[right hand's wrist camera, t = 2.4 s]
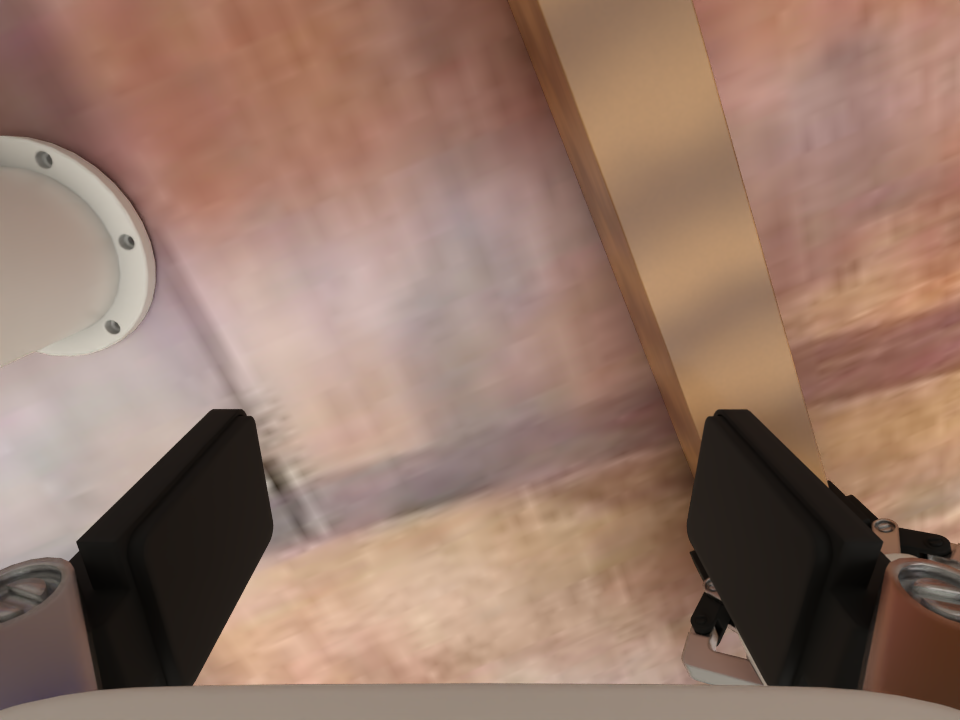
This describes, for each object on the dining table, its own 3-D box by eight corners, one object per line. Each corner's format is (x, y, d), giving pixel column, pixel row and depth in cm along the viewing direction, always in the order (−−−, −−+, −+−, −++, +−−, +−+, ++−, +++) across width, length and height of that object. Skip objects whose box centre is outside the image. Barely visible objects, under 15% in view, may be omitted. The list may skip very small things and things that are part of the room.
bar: (293, -549, 20) (194, -919, 13) (419, -649, 19) (385, -1102, 12) (731, 574, 41) (783, 663, 34) (801, 549, 40) (871, 636, 33)
